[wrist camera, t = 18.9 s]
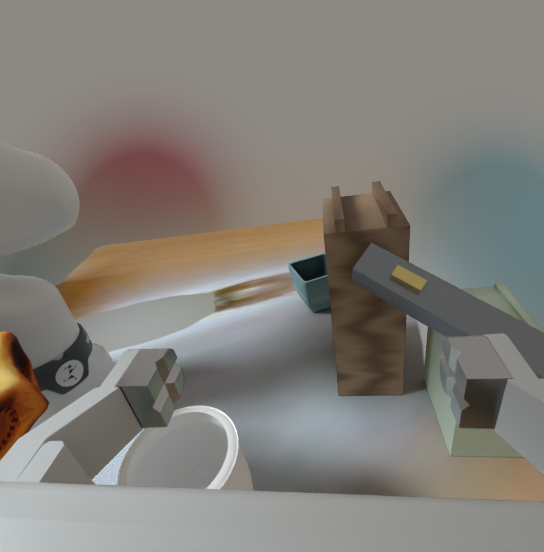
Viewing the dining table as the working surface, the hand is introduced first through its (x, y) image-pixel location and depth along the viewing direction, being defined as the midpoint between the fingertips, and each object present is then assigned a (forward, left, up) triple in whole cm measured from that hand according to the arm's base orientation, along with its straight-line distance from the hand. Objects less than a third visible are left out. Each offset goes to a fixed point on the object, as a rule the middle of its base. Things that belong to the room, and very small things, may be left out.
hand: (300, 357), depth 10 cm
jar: (-16, +2, -34) cm, 38 cm away
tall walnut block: (-10, +32, -34) cm, 48 cm away
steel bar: (+2, +24, -16) cm, 29 cm away
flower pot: (-24, +45, -34) cm, 61 cm away
